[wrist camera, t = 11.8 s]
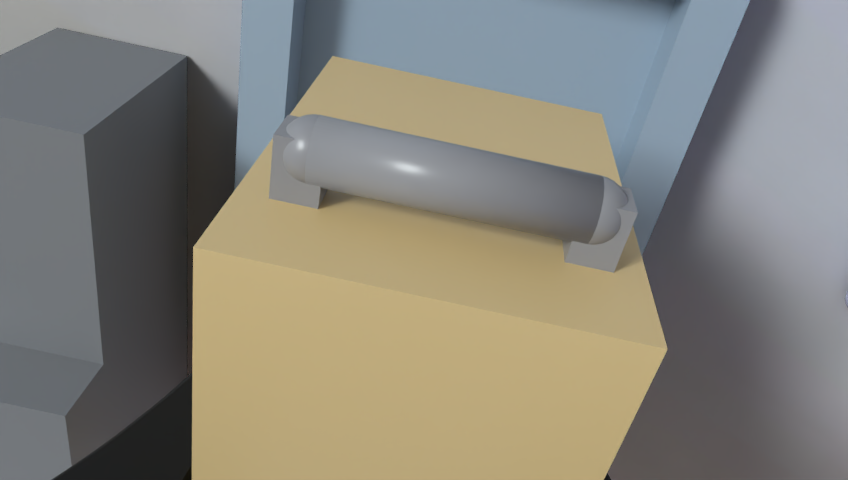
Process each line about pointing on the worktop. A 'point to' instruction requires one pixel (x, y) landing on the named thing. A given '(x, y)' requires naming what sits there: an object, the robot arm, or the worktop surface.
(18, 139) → the dock
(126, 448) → the robot arm
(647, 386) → the tan block with handle
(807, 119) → the worktop surface
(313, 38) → the tray
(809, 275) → the worktop surface
